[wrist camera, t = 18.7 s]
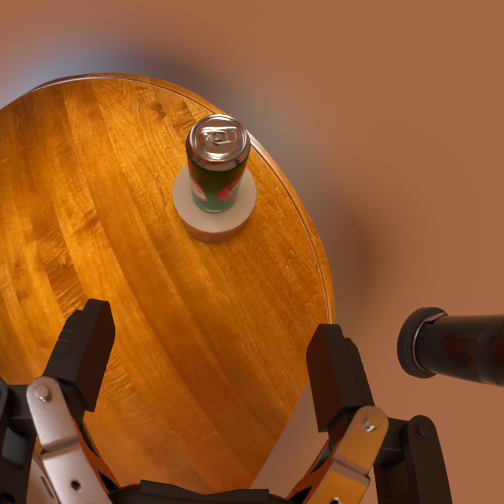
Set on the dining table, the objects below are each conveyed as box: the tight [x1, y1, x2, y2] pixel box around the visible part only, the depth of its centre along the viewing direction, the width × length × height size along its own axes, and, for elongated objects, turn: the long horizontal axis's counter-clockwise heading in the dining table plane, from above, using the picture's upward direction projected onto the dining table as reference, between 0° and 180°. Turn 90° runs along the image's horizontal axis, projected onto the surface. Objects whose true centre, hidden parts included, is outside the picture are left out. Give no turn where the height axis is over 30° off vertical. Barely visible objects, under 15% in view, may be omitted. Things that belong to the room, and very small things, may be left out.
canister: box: [173, 164, 257, 243], centre depth 36 cm, size 9×9×7 cm
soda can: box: [186, 114, 251, 213], centre depth 27 cm, size 5×5×12 cm
